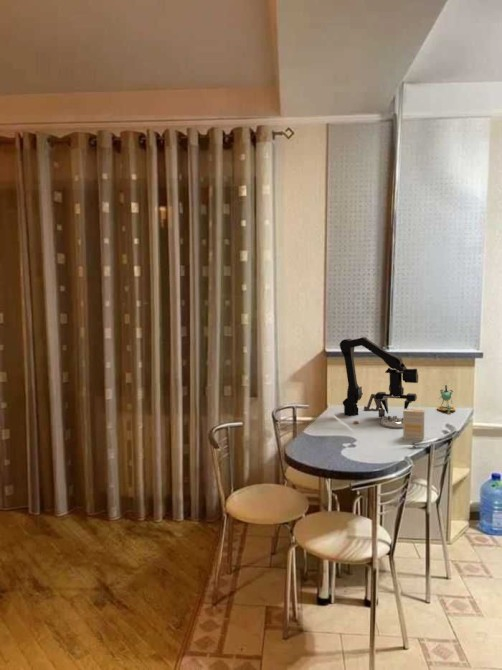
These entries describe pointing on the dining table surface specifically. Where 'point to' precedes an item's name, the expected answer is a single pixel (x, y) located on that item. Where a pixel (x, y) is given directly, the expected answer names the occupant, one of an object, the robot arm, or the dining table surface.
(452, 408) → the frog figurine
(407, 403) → the robot arm
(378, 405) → the portable electronic device stand
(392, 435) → the dining table surface
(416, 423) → the supplement box
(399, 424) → the gear crank handle
